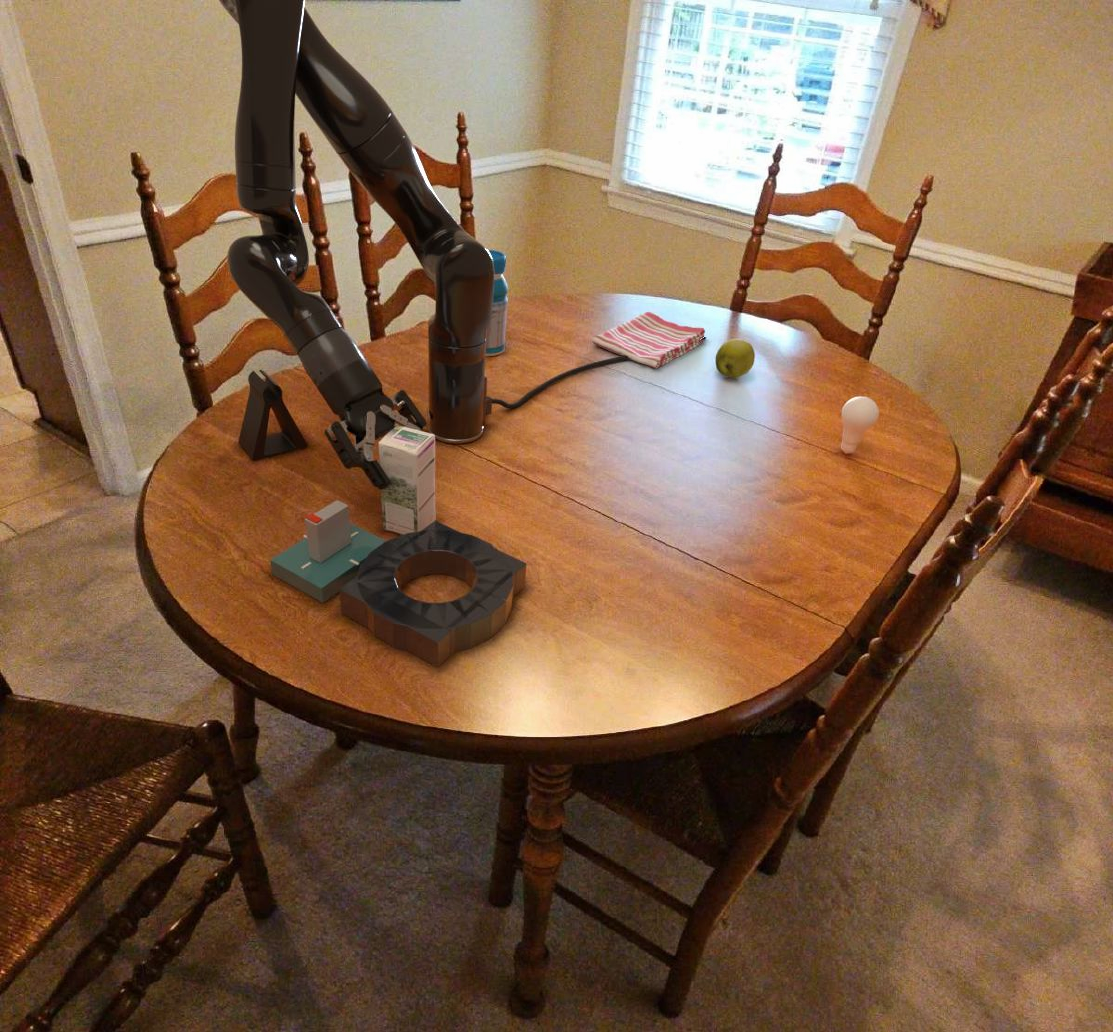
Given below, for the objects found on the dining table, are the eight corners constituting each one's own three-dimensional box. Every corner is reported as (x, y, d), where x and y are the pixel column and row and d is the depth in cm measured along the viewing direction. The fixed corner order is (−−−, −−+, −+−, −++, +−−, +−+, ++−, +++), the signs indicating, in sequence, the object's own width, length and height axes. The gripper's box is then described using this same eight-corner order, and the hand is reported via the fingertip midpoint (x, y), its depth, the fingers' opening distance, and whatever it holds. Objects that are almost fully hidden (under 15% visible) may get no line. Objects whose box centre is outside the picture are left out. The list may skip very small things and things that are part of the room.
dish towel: (705, 342, 178) (708, 327, 176) (655, 371, 161) (657, 355, 159) (642, 320, 185) (645, 306, 183) (588, 346, 169) (590, 331, 167)
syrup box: (436, 519, 111) (437, 432, 103) (417, 542, 107) (416, 452, 98) (401, 509, 113) (398, 422, 104) (381, 531, 108) (376, 441, 100)
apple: (755, 374, 165) (764, 339, 160) (740, 388, 158) (749, 352, 154) (721, 364, 168) (730, 329, 163) (705, 377, 161) (713, 341, 157)
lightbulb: (865, 450, 141) (885, 396, 135) (861, 465, 136) (882, 409, 130) (831, 441, 143) (849, 387, 136) (826, 455, 138) (845, 400, 132)
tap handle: (340, 537, 102) (337, 498, 98) (351, 542, 101) (348, 503, 98) (309, 557, 98) (304, 517, 94) (320, 563, 97) (316, 523, 94)
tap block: (338, 530, 107) (337, 514, 106) (391, 557, 103) (390, 541, 102) (270, 573, 99) (267, 557, 97) (325, 604, 95) (323, 588, 93)
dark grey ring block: (426, 536, 108) (426, 513, 106) (539, 591, 101) (542, 567, 98) (326, 609, 94) (323, 584, 92) (448, 678, 87) (449, 653, 84)
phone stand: (252, 461, 120) (241, 391, 113) (238, 444, 123) (227, 375, 116) (307, 447, 124) (300, 379, 118) (293, 431, 128) (285, 364, 121)
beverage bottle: (503, 359, 159) (509, 262, 148) (463, 355, 159) (465, 258, 148) (506, 343, 166) (511, 250, 155) (467, 340, 166) (469, 246, 155)
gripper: (312, 375, 95) (385, 486, 97) (391, 343, 105) (456, 444, 107) (286, 401, 100) (356, 506, 102) (364, 368, 110) (426, 463, 112)
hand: (407, 474), depth 105 cm, fingers open, 8 cm apart
